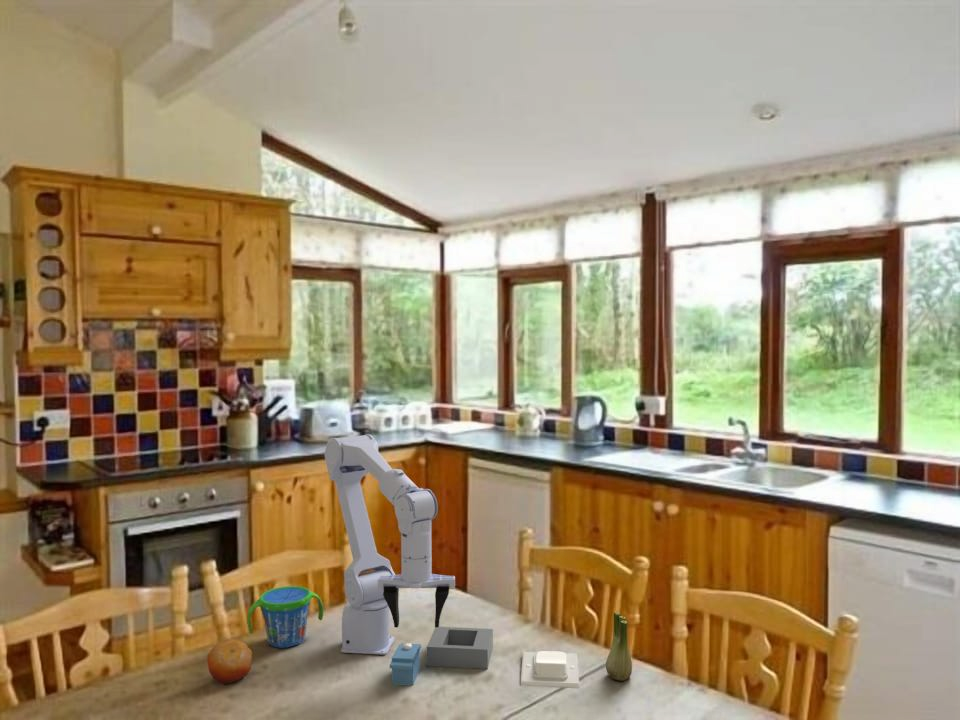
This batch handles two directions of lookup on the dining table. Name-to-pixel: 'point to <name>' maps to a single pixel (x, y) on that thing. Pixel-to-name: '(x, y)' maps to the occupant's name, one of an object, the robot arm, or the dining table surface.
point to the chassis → (460, 647)
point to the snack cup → (285, 614)
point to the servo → (405, 664)
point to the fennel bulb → (619, 651)
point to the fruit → (229, 661)
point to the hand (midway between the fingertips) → (416, 625)
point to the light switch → (550, 669)
